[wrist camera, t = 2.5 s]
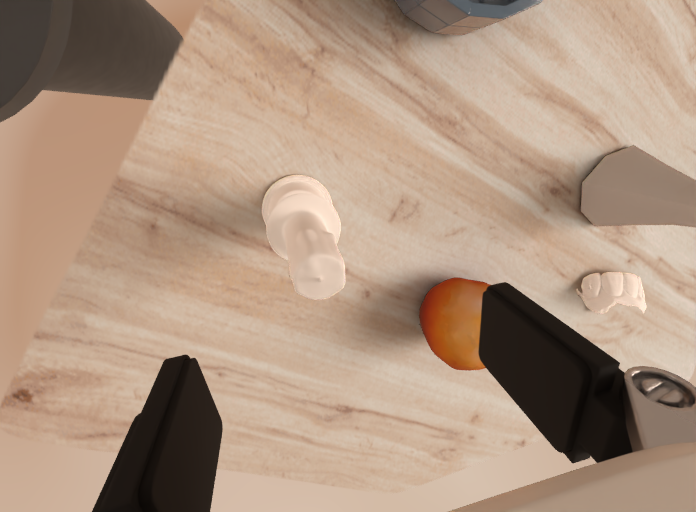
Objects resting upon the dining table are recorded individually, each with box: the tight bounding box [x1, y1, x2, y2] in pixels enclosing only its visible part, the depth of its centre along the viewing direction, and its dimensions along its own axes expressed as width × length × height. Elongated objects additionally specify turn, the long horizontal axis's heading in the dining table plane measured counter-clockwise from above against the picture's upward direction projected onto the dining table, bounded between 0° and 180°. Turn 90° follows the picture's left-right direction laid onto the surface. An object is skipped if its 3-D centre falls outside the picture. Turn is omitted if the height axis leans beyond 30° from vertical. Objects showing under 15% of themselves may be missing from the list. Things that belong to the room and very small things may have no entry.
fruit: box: [419, 278, 490, 370], centre depth 29 cm, size 8×8×8 cm
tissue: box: [576, 272, 647, 314], centre depth 34 cm, size 6×8×4 cm
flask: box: [581, 145, 696, 227], centre depth 26 cm, size 7×7×10 cm
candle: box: [262, 175, 345, 300], centre depth 19 cm, size 5×5×12 cm
